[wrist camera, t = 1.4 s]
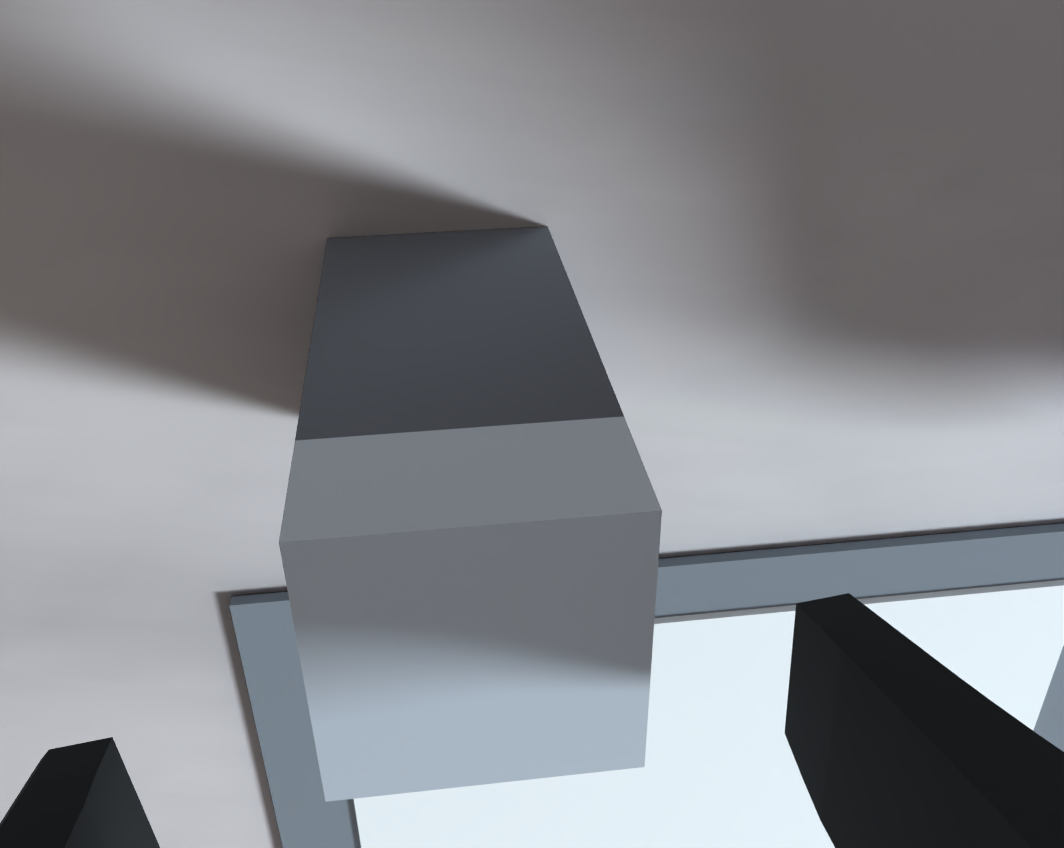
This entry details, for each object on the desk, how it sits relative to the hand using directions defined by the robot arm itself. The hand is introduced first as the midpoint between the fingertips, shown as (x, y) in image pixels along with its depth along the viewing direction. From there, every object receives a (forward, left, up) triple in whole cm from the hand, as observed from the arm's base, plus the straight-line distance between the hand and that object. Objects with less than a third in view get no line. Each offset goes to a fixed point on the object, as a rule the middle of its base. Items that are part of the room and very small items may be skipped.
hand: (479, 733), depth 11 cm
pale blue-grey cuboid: (0, 0, -10) cm, 10 cm away
